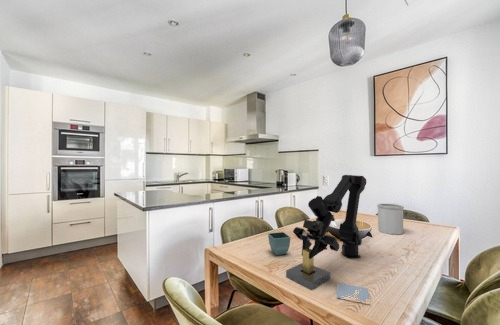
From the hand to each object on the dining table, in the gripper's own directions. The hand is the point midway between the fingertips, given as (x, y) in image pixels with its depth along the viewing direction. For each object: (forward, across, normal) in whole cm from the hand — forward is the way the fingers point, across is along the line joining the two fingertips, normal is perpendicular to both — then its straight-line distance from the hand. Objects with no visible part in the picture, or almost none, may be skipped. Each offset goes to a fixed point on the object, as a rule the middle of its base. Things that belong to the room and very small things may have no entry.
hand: (305, 257), depth 89 cm
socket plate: (+5, 0, +7) cm, 9 cm away
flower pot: (-1, -24, +14) cm, 28 cm away
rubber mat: (+3, +16, +9) cm, 19 cm away
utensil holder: (-59, -3, +72) cm, 93 cm away
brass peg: (+4, 0, +6) cm, 8 cm away
